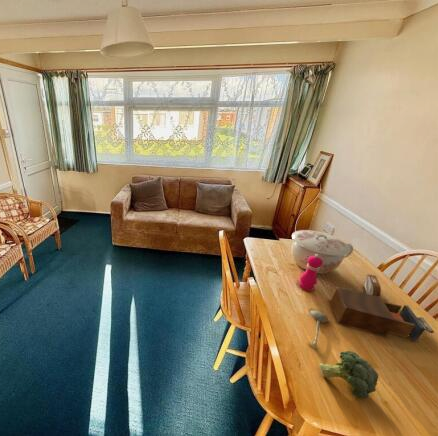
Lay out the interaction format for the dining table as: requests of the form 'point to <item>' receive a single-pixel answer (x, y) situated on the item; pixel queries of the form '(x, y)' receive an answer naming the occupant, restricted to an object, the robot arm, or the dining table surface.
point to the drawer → (407, 323)
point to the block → (397, 316)
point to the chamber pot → (319, 249)
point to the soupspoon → (318, 323)
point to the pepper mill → (310, 273)
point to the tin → (372, 285)
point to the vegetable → (353, 373)
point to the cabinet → (362, 311)
